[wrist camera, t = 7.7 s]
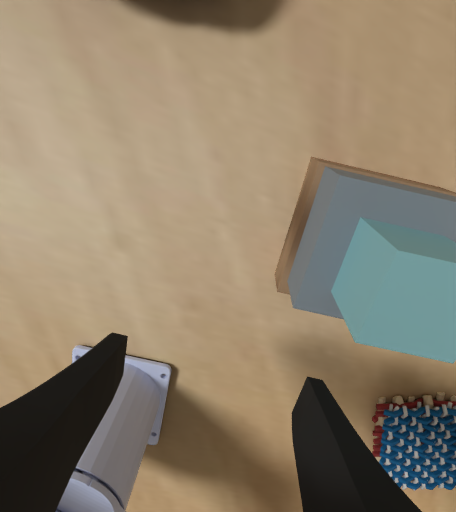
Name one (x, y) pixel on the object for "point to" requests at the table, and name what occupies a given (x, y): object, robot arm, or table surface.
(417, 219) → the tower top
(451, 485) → the woven mat
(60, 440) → the robot arm
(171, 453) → the table surface
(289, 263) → the tower base
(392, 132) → the table surface
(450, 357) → the teal cube
